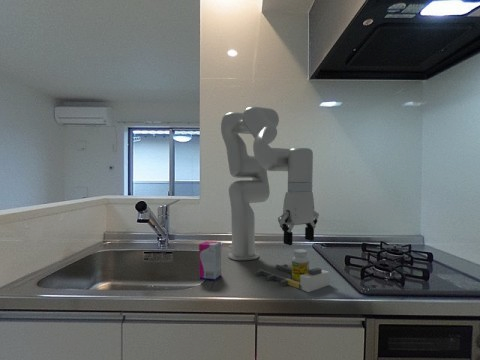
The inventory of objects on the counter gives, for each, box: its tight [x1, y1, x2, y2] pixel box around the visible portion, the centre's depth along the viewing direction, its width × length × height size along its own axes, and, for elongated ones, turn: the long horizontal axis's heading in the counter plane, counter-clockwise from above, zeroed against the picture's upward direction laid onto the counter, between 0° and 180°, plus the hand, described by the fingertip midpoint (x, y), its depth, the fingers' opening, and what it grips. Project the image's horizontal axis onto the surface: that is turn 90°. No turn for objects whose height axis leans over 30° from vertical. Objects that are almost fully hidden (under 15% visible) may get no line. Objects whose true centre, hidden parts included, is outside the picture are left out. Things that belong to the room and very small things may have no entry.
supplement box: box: [198, 240, 222, 282], centre depth 100 cm, size 6×6×12 cm
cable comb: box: [255, 263, 330, 293], centre depth 98 cm, size 22×14×5 cm, turn 36°
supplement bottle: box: [291, 248, 310, 283], centre depth 95 cm, size 5×5×10 cm
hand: (298, 242), depth 95 cm, fingers open, 9 cm apart
